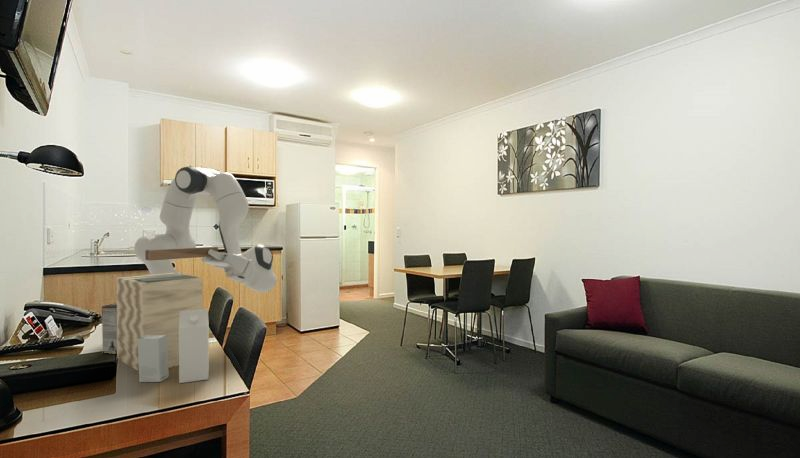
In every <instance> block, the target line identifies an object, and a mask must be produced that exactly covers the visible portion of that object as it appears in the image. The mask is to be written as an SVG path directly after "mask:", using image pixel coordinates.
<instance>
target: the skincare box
mask: <svg viewBox="0 0 800 458" xmlns="http://www.w3.org/2000/svg"><path fill="white" fill-rule="evenodd" d="M137 341H138V360H139V371H138V377H139V378H138V379H139V383H161V382H163V381H165V380H167V379H168V378H169V376H170V375H169V368H168V348H167V335H145V336H143V337H141V338H139V339H138V340H137Z"/></svg>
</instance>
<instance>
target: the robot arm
mask: <svg viewBox="0 0 800 458" xmlns="http://www.w3.org/2000/svg"><path fill="white" fill-rule="evenodd" d="M243 190H244V189H243V188H242V187H241V185H240V183H239V182H238V180H237V179H236V178H235V176H234V175H233V174H232V173H230V172H223V171H221V170H219V169H213V168H209V167H203V166H202V167H200V166H199V167H197V166H190V165H189V166H184V167H181V168H179V169H178V170H177V172H176V174H175V177H174V178H173V179H172V180H171V182H170V183H169V186H168V188H167V190H166V193H165V195H164V199H163V203H162V207H161V210H160V213H159V220H160V221H161V222H162V224H163V225H164V226H165V228H166V231H165V233H160V234H159V233H158V234H149V235H145V236H141V237H139V238H138V239H137V240H136V241H135V243H134V247H133V250H134V254H135V256H136V257H137V258H138V260H140V261H141V262H143V264H144V265H145V266H146V268H147V269H148V272H149V275H153V274H165V273H177V274H182V273H181V272H180V271H178V269H177V270H176V269H175V268H174V265H173V262H172V261H174V260H175V261H177V260H178V259H166V260H151V261H150V260H146V259H145V250H159V249H180V248H197V244H196V243H197V242H196V240H195V239H194V238H193V236H192V235H191V230H190V222H191V219H192V215H193V214H192V213H193V210H194V207H195V203H196V200H197V197H198V196H212V198H213V199H214V201H215V204H216V206H217V210H218V216H219V221H218V230H219V234H220V239H221V242H222V246H223V248H224V252H219V251H218V252H216V251H214V250H212V249H208V251H207V254H208V255H210V256H212V257H201V261H202V262H203V263H205V264H208V265H210V266H212V267H214V268H217V269H219V270H223V271H224V272H225V276H226V278H228V279H230V280H232V281H234V282H236V283H239V284H242V285H245V287H246V288H248V289H250V290H253V291H255V292H256V293H257V292H258V293H261V294H266V293H268V292H271V290H273V289H274V288H275V286H276V285H277V283H278V277H277V275H276V274H275V272H274V269H273V268H274V267H273V261H274V255H273V252H272V251H271V249H270V248H269V247H268V246H266V245H265V244H260V243H258V244H255V245H254V246H252V247H250V248H248V249H247V250H246V251H244V252H243V253H242V249H241V246H240V243H239V239H238V230H239V228H240V226H241V224H242V223H243V222H244V220H245V218H246V217H247V216H248V213H249V210H250V205H249V202H248V198H247V197H246V195H245V192H244V191H243ZM182 259H184V258H181V259H180V260H182Z"/></svg>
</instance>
